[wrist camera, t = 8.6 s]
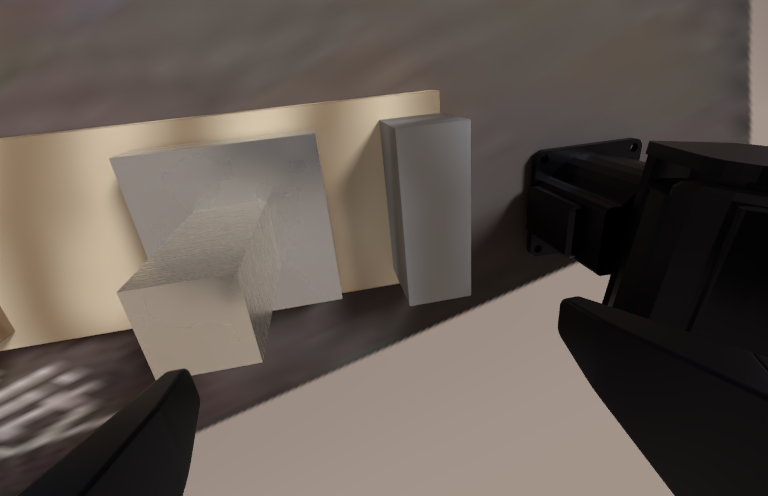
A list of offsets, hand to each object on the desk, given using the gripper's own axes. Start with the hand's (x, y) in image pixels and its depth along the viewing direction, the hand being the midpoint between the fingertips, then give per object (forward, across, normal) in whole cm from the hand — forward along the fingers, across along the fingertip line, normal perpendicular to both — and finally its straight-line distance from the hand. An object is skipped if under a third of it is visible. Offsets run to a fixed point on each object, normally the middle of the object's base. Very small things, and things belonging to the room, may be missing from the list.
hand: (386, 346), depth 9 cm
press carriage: (+11, +5, 0) cm, 12 cm away
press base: (+13, +7, 0) cm, 15 cm away
